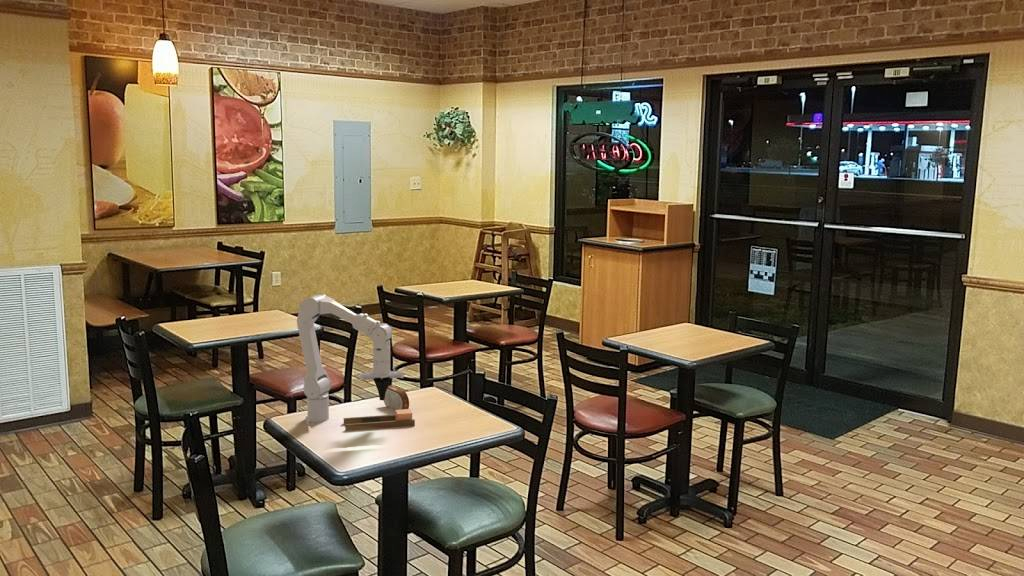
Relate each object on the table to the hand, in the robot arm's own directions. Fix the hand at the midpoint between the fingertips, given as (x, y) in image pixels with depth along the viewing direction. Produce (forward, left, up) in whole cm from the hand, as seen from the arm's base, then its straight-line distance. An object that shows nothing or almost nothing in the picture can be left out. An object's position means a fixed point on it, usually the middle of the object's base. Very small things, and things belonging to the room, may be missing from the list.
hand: (381, 399), depth 276 cm
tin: (-19, +8, -10) cm, 23 cm away
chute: (0, -1, -10) cm, 10 cm away
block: (0, +7, -9) cm, 11 cm away
